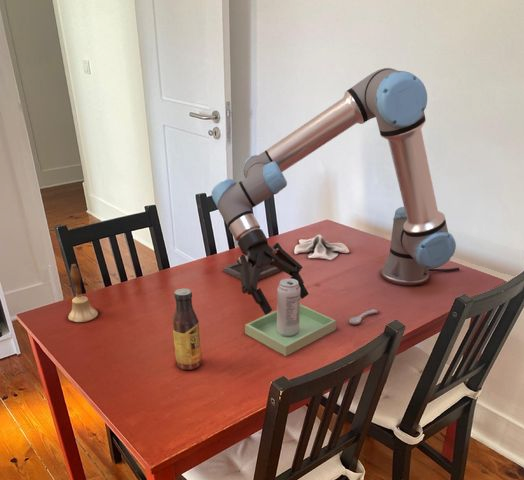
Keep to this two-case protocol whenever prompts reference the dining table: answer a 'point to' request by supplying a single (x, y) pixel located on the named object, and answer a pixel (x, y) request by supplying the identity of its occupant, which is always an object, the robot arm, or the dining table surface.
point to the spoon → (361, 316)
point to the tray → (309, 331)
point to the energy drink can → (288, 307)
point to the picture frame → (263, 271)
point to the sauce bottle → (186, 331)
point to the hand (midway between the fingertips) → (287, 304)
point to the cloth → (320, 248)
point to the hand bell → (80, 301)
